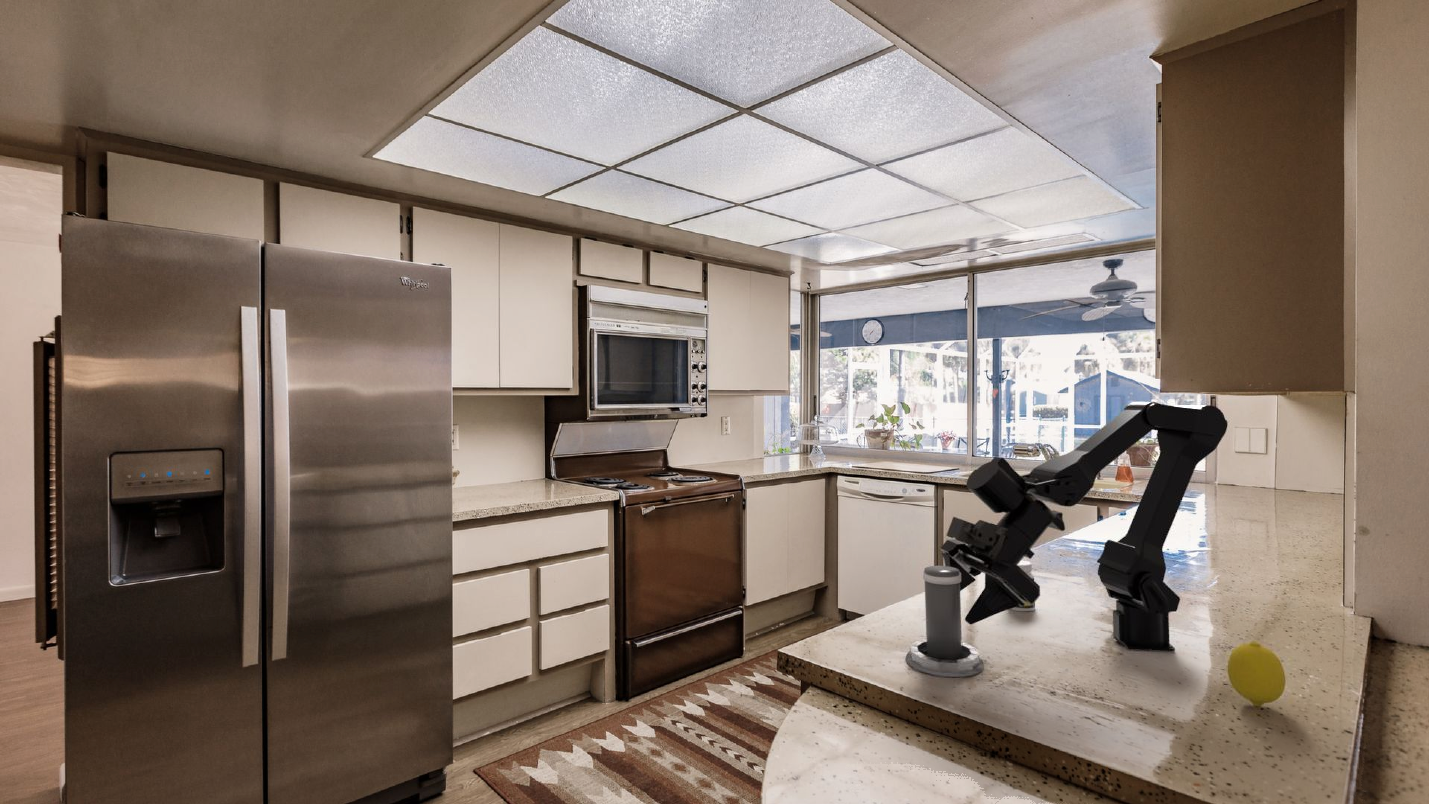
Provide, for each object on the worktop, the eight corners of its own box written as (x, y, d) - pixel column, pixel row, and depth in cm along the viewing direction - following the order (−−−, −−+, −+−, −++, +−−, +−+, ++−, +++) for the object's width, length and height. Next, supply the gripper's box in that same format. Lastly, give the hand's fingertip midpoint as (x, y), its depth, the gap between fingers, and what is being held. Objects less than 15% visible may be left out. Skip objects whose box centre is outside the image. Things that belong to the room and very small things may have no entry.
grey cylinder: (967, 656, 99) (964, 567, 99) (959, 670, 94) (956, 576, 94) (930, 650, 102) (927, 564, 101) (921, 663, 97) (918, 572, 97)
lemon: (1217, 697, 84) (1215, 635, 84) (1257, 694, 85) (1255, 632, 84) (1256, 718, 79) (1254, 652, 78) (1298, 714, 79) (1297, 649, 79)
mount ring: (976, 649, 102) (976, 638, 102) (990, 679, 91) (990, 667, 91) (903, 646, 104) (903, 635, 104) (909, 675, 94) (908, 663, 94)
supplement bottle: (1038, 612, 118) (1037, 566, 118) (1010, 611, 119) (1009, 565, 119) (1031, 604, 123) (1029, 559, 123) (1004, 603, 124) (1002, 559, 123)
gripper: (949, 489, 108) (888, 562, 106) (1016, 508, 89) (944, 596, 88) (995, 533, 109) (936, 605, 108) (1071, 561, 90) (1001, 648, 89)
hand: (951, 612), depth 98 cm, fingers open, 9 cm apart
